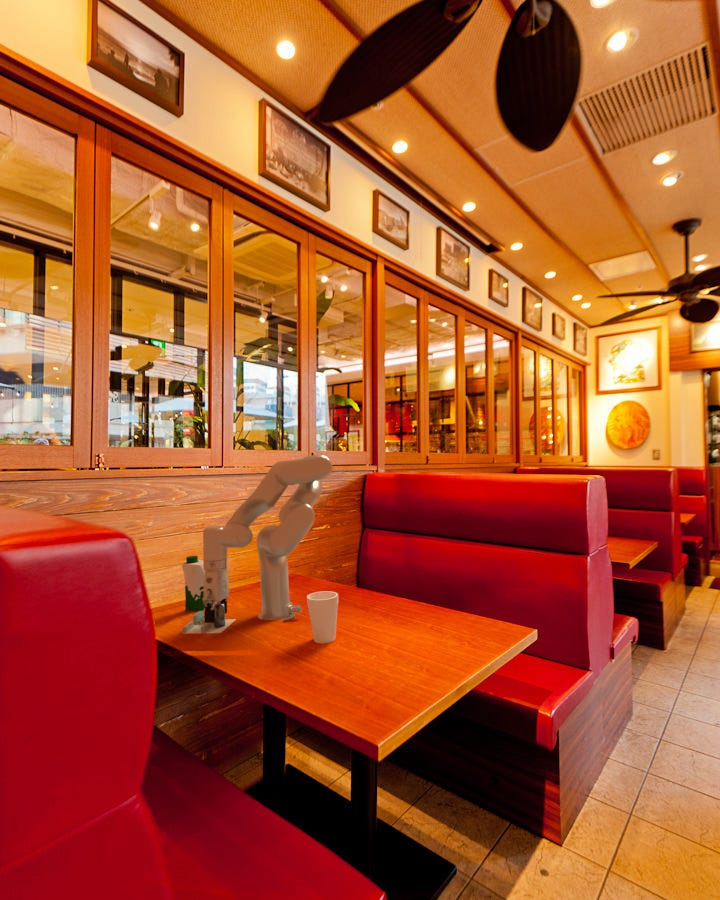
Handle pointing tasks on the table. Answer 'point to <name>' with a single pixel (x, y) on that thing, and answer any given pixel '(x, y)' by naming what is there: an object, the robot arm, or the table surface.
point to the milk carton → (194, 583)
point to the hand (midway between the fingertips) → (216, 617)
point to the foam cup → (323, 615)
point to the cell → (219, 615)
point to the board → (203, 625)
